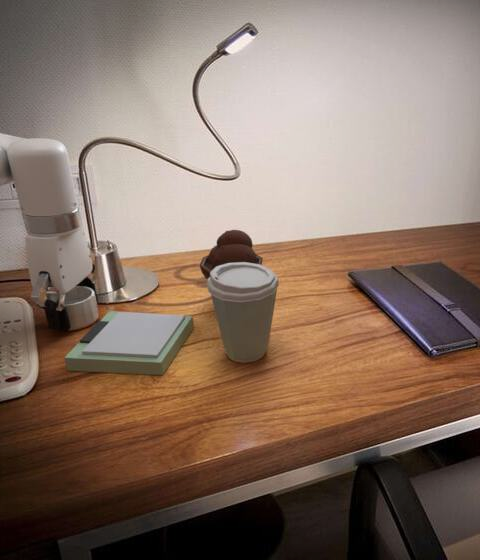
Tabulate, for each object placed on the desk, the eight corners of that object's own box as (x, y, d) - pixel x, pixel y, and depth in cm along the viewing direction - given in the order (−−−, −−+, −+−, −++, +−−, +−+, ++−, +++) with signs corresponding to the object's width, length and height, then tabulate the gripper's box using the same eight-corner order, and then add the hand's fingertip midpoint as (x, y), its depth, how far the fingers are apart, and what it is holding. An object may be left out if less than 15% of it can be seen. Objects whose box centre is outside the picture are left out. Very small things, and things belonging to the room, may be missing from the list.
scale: (67, 370, 79) (63, 354, 77) (111, 322, 91) (108, 307, 90) (163, 375, 80) (160, 359, 78) (194, 327, 92) (192, 312, 91)
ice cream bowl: (199, 298, 101) (192, 225, 95) (258, 290, 106) (255, 220, 100) (208, 325, 93) (201, 247, 86) (271, 315, 98) (269, 240, 91)
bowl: (43, 330, 87) (36, 304, 85) (66, 309, 94) (60, 284, 91) (86, 332, 88) (80, 306, 86) (106, 312, 94) (101, 287, 92)
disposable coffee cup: (261, 329, 93) (257, 252, 87) (293, 357, 86) (292, 276, 80) (202, 348, 87) (194, 266, 80) (232, 381, 80) (225, 294, 73)
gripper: (59, 201, 90) (79, 291, 98) (-10, 239, 75) (20, 342, 82) (104, 204, 91) (120, 293, 98) (45, 242, 75) (70, 344, 83)
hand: (75, 315), depth 90 cm, fingers open, 8 cm apart
